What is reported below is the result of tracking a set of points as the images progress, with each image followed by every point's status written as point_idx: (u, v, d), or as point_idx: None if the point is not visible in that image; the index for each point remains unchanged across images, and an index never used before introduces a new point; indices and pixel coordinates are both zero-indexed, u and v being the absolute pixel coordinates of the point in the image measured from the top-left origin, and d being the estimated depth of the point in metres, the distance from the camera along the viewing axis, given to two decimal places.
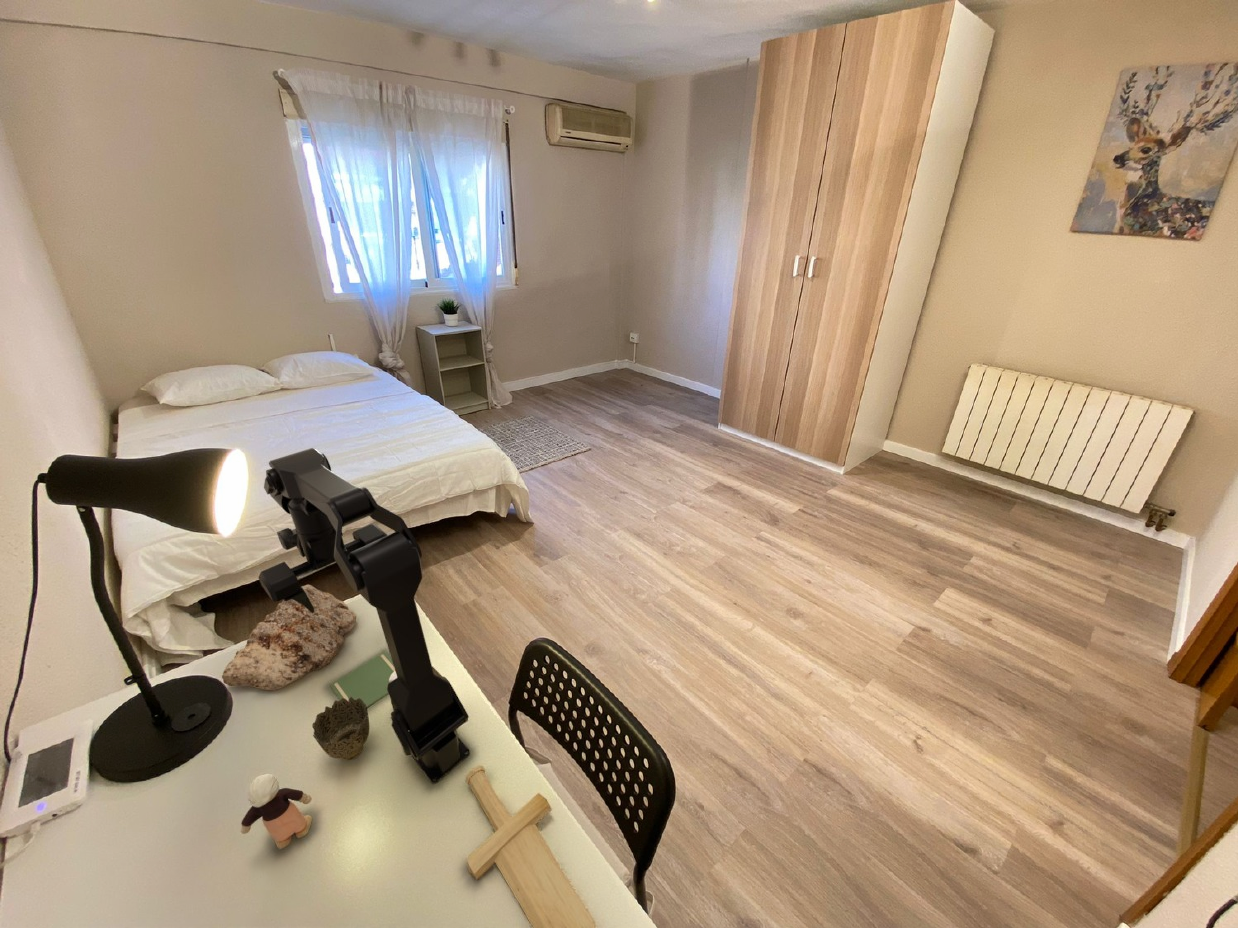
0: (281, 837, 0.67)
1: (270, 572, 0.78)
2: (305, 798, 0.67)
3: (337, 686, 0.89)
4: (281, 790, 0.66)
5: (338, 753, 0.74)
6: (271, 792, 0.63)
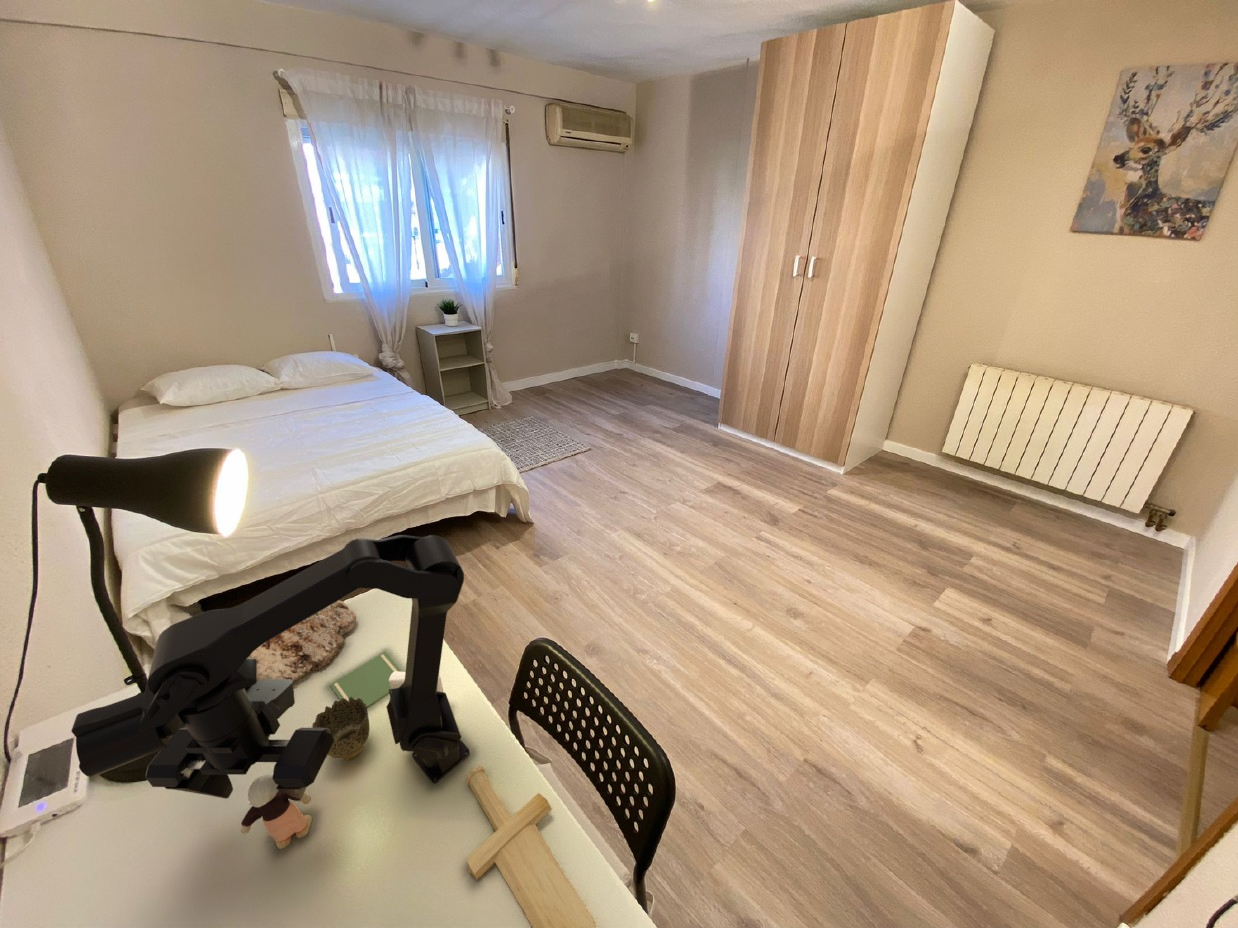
0: (281, 837, 0.67)
1: (177, 739, 0.60)
2: (305, 798, 0.67)
3: (337, 686, 0.89)
4: None
5: (338, 753, 0.74)
6: (271, 792, 0.63)
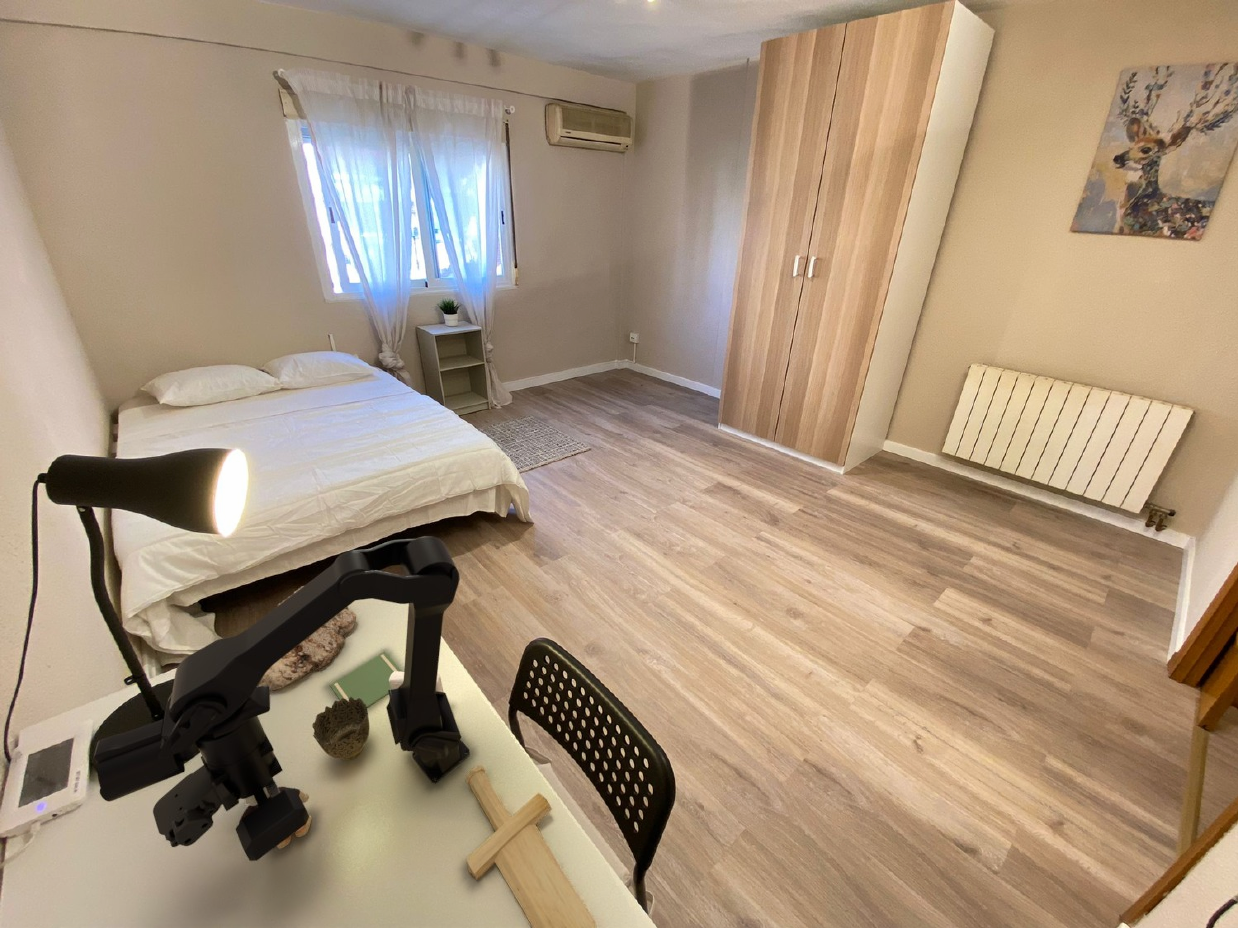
0: None
1: (261, 825, 0.57)
2: (302, 796, 0.67)
3: (337, 686, 0.89)
4: None
5: (338, 753, 0.74)
6: (266, 790, 0.63)
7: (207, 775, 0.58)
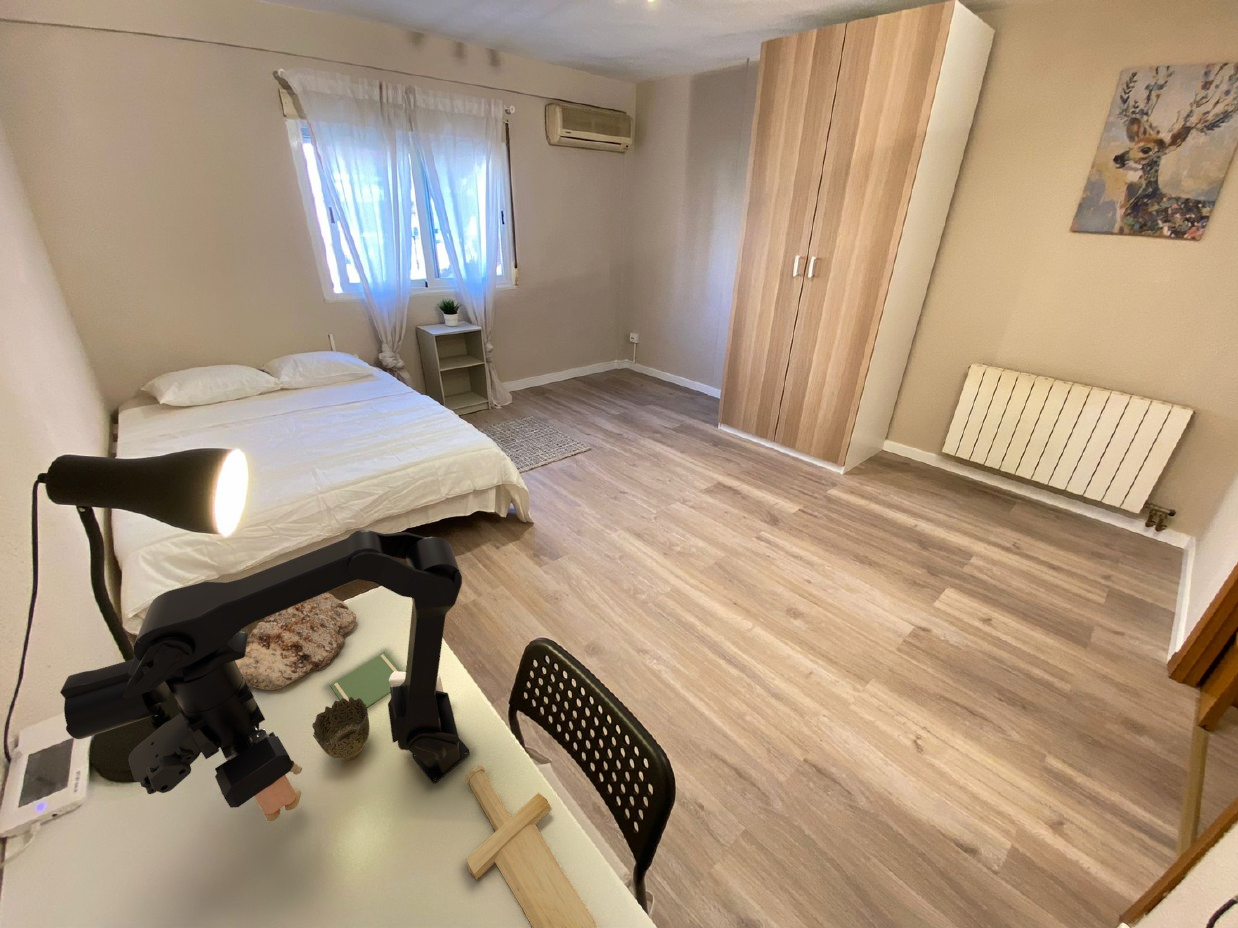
0: (271, 809, 0.67)
1: (242, 771, 0.54)
2: (296, 768, 0.67)
3: (337, 686, 0.89)
4: None
5: (338, 753, 0.74)
6: None
7: (184, 722, 0.56)
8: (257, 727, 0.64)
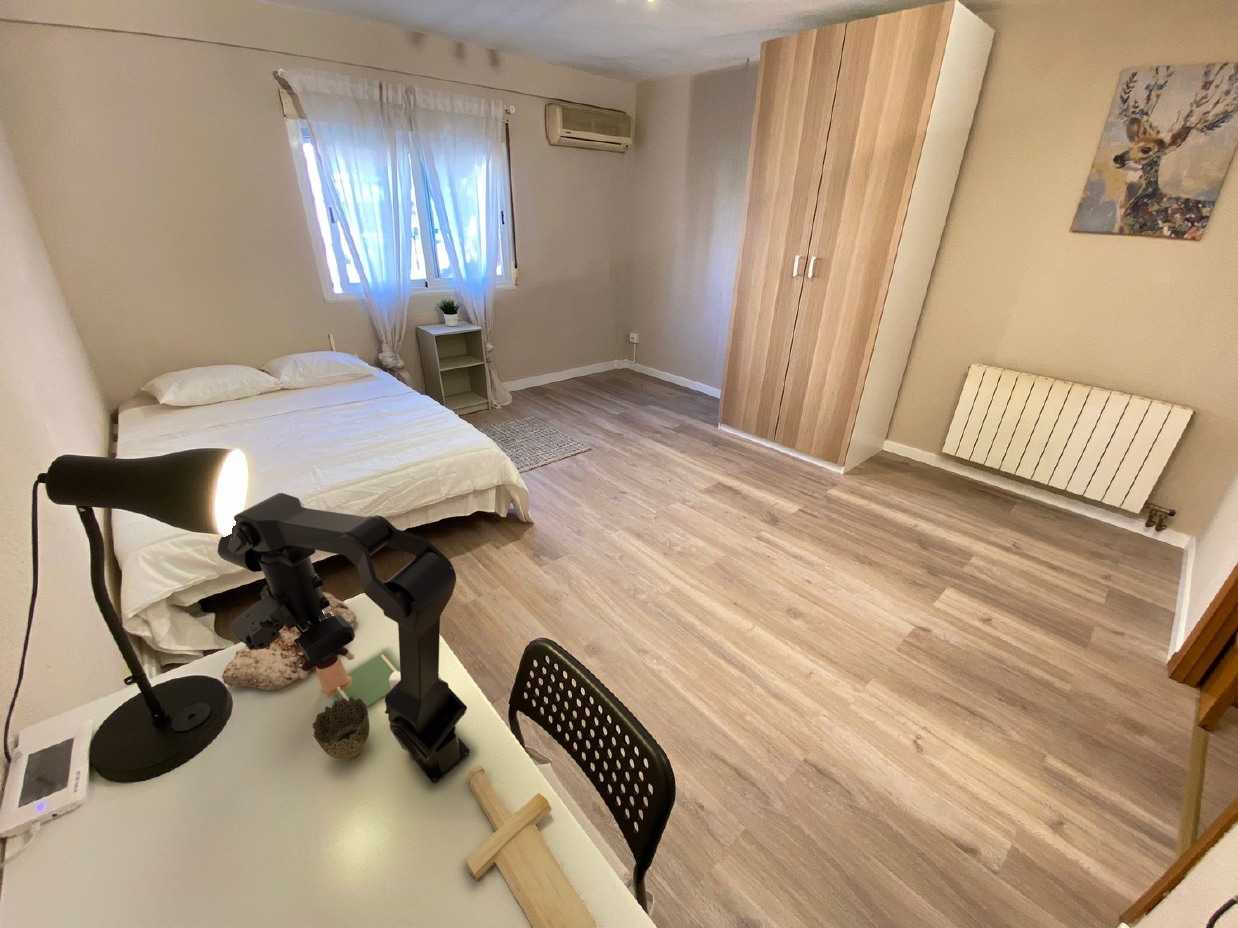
0: (330, 687, 0.83)
1: (318, 636, 0.70)
2: (350, 654, 0.83)
3: None
4: None
5: (338, 753, 0.74)
6: None
7: (271, 601, 0.72)
8: (320, 618, 0.80)
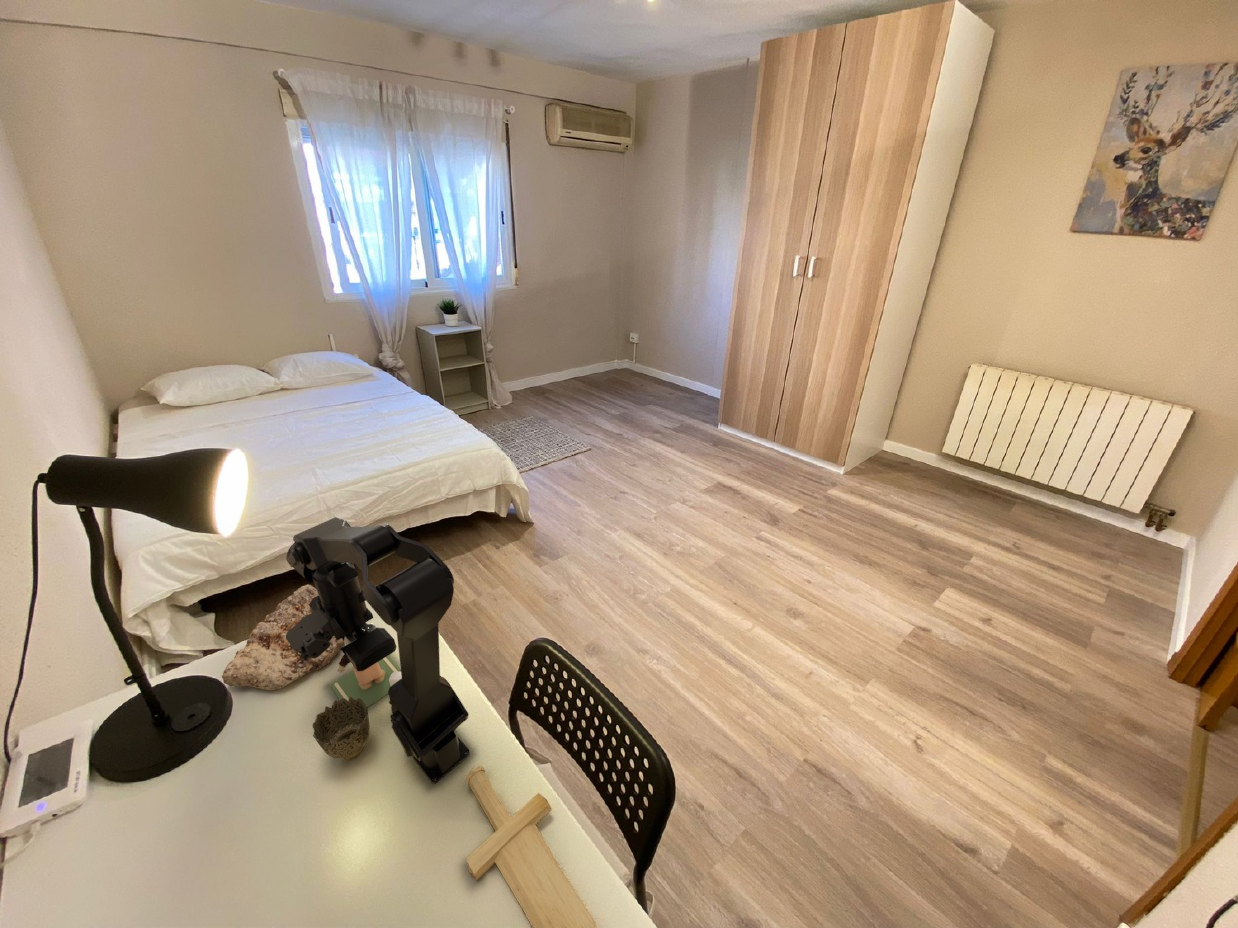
0: (365, 680, 0.88)
1: (364, 647, 0.77)
2: None
3: (337, 686, 0.89)
4: None
5: (338, 753, 0.74)
6: None
7: (322, 614, 0.79)
8: (363, 629, 0.87)
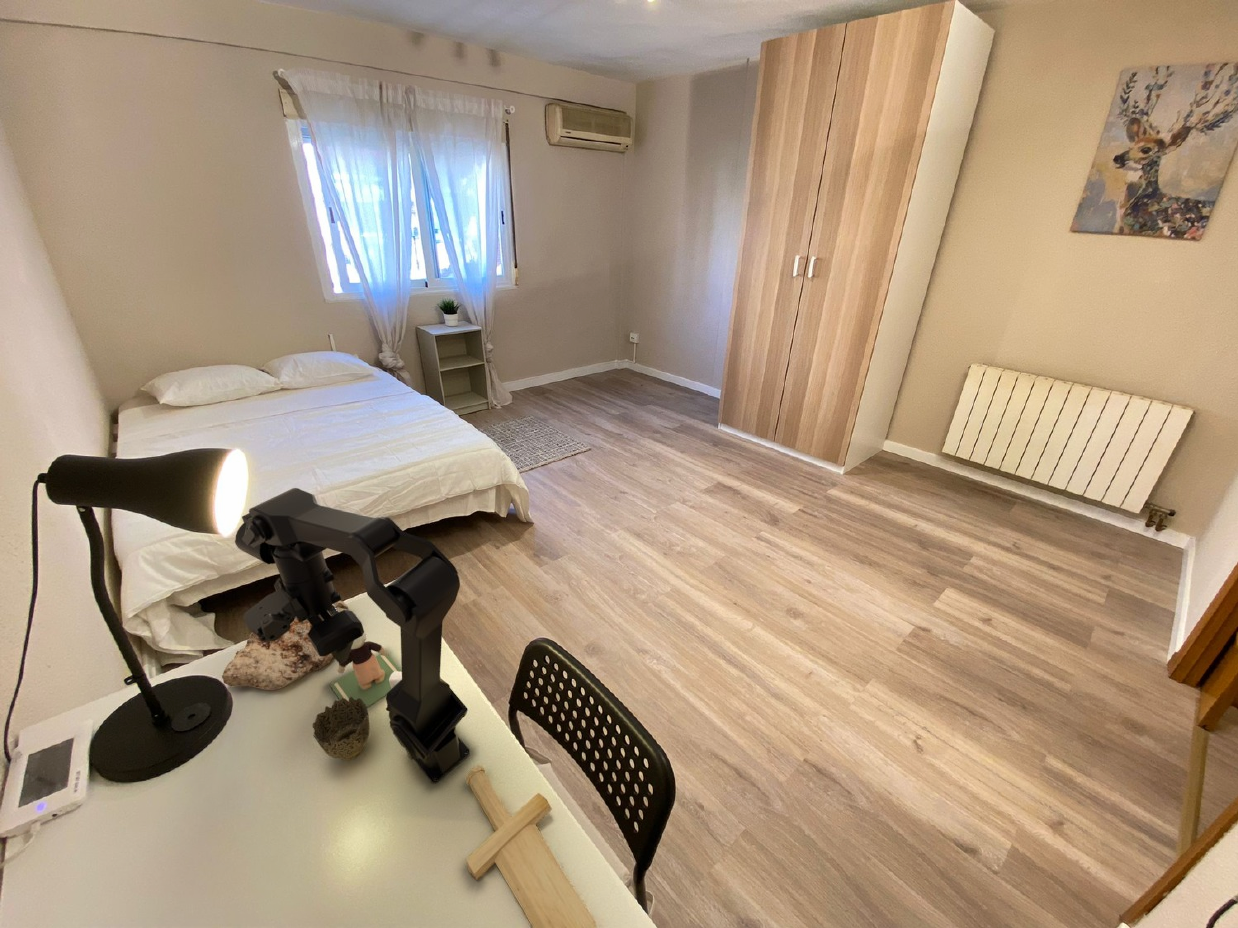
0: (365, 680, 0.88)
1: (328, 630, 0.71)
2: (383, 650, 0.88)
3: (337, 686, 0.89)
4: (366, 642, 0.86)
5: (338, 753, 0.74)
6: (361, 638, 0.84)
7: (283, 594, 0.73)
8: None
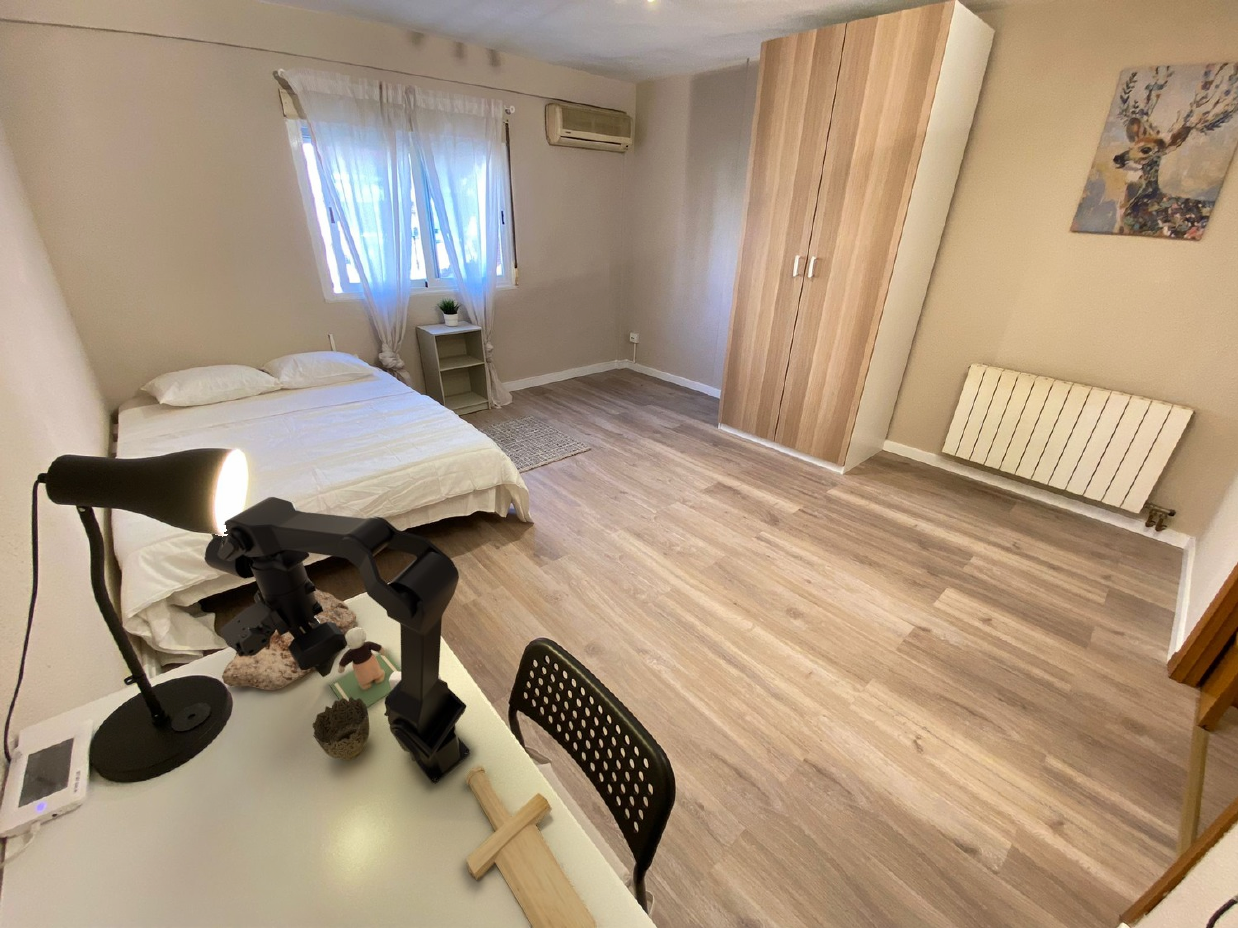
0: (365, 680, 0.88)
1: (309, 643, 0.69)
2: (383, 650, 0.88)
3: (337, 686, 0.89)
4: (366, 642, 0.86)
5: (338, 753, 0.74)
6: (361, 638, 0.84)
7: (263, 606, 0.70)
8: None
